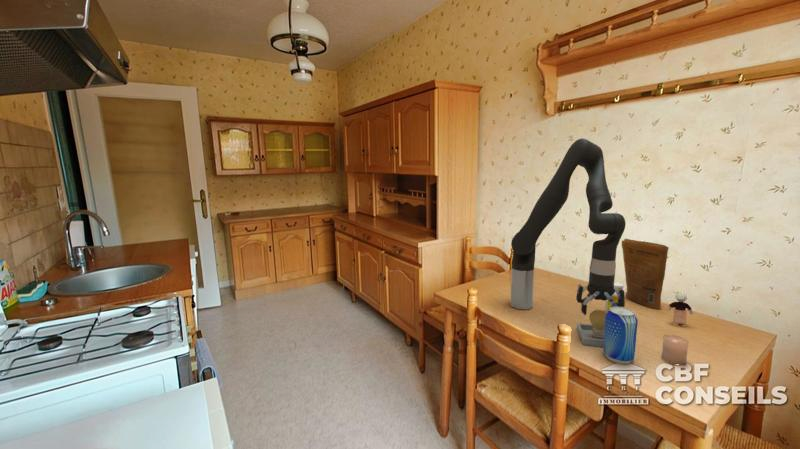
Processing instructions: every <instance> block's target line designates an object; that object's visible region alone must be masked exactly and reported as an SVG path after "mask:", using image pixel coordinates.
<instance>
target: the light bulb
mask: <svg viewBox="0 0 800 449" xmlns="http://www.w3.org/2000/svg"><path fill="white" fill-rule="evenodd" d="M606 314H607V312H605V310H602V309H595V310H592V311H591V312H590V313H589V317H588V319H589V322H590V324H591V325H593V333H592V335H593V336H594V337H595V338H598V339H602V338H604V333H605V320H606Z"/></svg>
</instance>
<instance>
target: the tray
mask: <svg viewBox="0 0 800 449" xmlns="http://www.w3.org/2000/svg"><path fill="white" fill-rule="evenodd" d="M576 331H577V333H578V336H579V338H580V341H581V343H582V345H583V346H588V347H589V346H591V347H598V348H603V347H604V338H602V339H598V338H595V337H594V336H593V335H592V333H593V325H592V324H591V323H590V324H589V323H582V322H581V323H580V322H579V323H578V322H577V323H576Z"/></svg>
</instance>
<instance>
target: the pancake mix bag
mask: <svg viewBox="0 0 800 449" xmlns="http://www.w3.org/2000/svg"><path fill="white" fill-rule="evenodd" d="M621 248H622V256H623V257H622V258H623V264H624V272H625V273H624V275H625V284H626V285H625V286H626V292H625V299H627V300H629V301H631V302H634V303H636V304H639V305H641V306H644V307H646V308H648V309H652V310H662V306H661V301H662V292H663V287H664V281H665V275H666V267H667V260H668V255H669V249H670V248H669V246H667V245H665V244H662V243H661V244H660V243H655V242H648V241H641V240H635V239H630V238H624V239H622V240H621Z"/></svg>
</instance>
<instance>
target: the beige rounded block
mask: <svg viewBox="0 0 800 449" xmlns="http://www.w3.org/2000/svg"><path fill="white" fill-rule="evenodd" d="M688 349H689V340H688V339H686V338H684V337H682V336H679V335H675V334H664V335H663V341H662V350H661V359H662V360H663V361H664V362H666V363H668V364H671V363H672V365H674V364H679V365H678V366H685V365H686V363H687V359H688V358H687V357H688ZM684 364H685V365H684Z"/></svg>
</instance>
